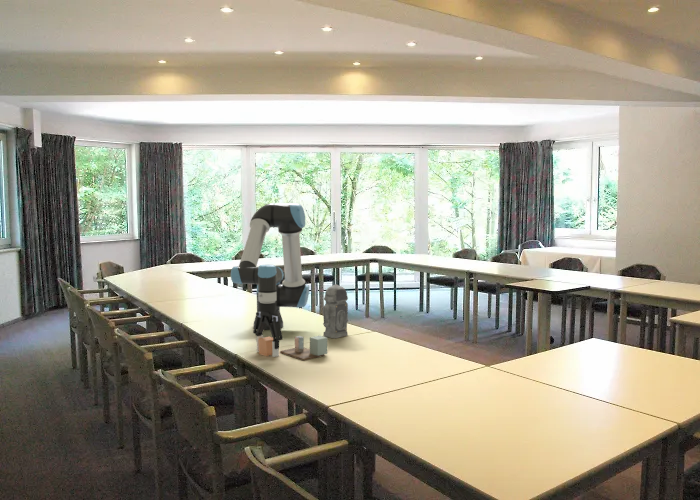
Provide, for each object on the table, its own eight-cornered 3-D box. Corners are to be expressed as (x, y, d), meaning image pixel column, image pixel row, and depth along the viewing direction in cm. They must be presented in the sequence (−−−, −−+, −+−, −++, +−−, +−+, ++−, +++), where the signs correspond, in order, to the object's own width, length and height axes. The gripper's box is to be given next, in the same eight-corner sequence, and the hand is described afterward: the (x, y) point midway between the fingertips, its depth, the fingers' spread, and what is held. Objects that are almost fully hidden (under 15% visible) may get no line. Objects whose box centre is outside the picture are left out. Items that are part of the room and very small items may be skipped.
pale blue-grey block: (309, 353, 233) (309, 337, 232) (319, 351, 236) (319, 335, 236) (317, 355, 229) (317, 339, 229) (327, 353, 233) (327, 337, 232)
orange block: (259, 353, 235) (259, 338, 234) (269, 351, 238) (269, 336, 238) (266, 356, 231) (266, 340, 230) (276, 354, 235) (276, 338, 234)
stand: (280, 352, 237) (280, 350, 237) (300, 348, 244) (300, 346, 244) (303, 360, 225) (303, 358, 225) (324, 355, 232) (324, 353, 232)
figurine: (352, 334, 270) (352, 283, 268) (331, 339, 260) (331, 286, 258) (338, 331, 277) (338, 281, 275) (317, 336, 266) (317, 284, 264)
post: (294, 351, 236) (294, 337, 235) (299, 350, 238) (299, 336, 237) (298, 352, 234) (298, 338, 234) (303, 351, 236) (303, 337, 235)
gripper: (244, 299, 239) (245, 349, 240) (276, 306, 222) (276, 360, 224) (259, 297, 244) (259, 346, 246) (291, 304, 227) (291, 357, 229)
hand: (267, 353), depth 235 cm, fingers open, 11 cm apart
